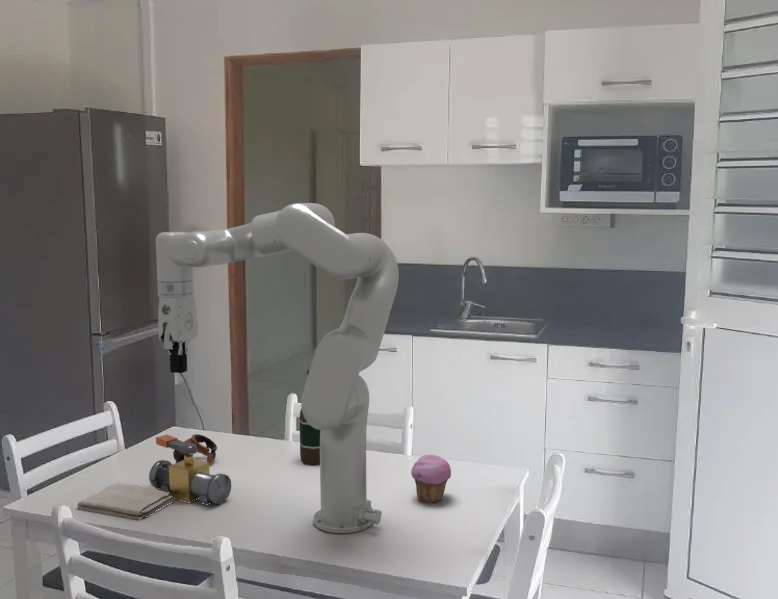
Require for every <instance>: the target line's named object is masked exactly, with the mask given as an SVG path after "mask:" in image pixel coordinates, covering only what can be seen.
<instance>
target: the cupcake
mask: <svg viewBox="0 0 778 599" xmlns="http://www.w3.org/2000/svg"><path fill="white" fill-rule="evenodd" d="M410 474H411V477H412V479H414V483H415V489H416V496H417V499H418V500H419V501H422V502H427V503H436V502H438V501H439V500H441V499H443V498H444V495H445V490H446V485H447V482H448V480H449V479H450V478H451V476H452V470H451V466H450V463H449V462H448V461H447V460H446V459H444V458H442V457H441V456H439V455H434V454H424V455H422V456H420V457H419V458H418V459H417V460H416V461H415V462H414V464H413V465H412V468H411V471H410Z"/></svg>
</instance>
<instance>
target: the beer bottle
mask: <svg viewBox="0 0 778 599" xmlns="http://www.w3.org/2000/svg"><path fill="white" fill-rule="evenodd" d="M309 371H310V368H309V369H307V371H306V374H307V375H308V374H309ZM320 431H321V430H318V429H315V428H313V427H312V426H311V425H309V424H308V422H307V421H306V420H305V418H304V416H303V413H302V408H300V412H299V447H300V448H299V454H300V455H299V458H300V460H301V462H302V463H303V464H304V465H307V464H308V466H313V465H314V466H320Z"/></svg>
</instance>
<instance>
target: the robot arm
mask: <svg viewBox="0 0 778 599" xmlns="http://www.w3.org/2000/svg"><path fill="white" fill-rule="evenodd" d="M335 223H336V222H335V217H334V216H333V213H332V212H331V211H330V210H329V209H328V208H327V207H326V206H324V205H322V204H321V203H320V204H319V203H314V202H296V203H292V204H291V203H290V204H288V205H286V206H284V207H283V208H282V209H281V210H276V211H273V212H268V213H263V214H258V215H256V216H254V217H253V218H252V220H251V222H249V223H247V224H243V225H242V224H241V225H238V226H234V227H230V228H225V229H220V230H219V229H218V230H204V231H192V232H191V231H190V232H186V231H162V232H160V233H158V234H157V235H156V237H155V251H156V252H155V253H156V254H155V255H156V277H157V279H156V280H157V297H158V298H159V299H158V300H159V301H158V313H157V314H158V316H157V318H158V322H157V324H158V326H157V327H158V338H159V341H160V342H161V343H163V349H164V350H168V355H169V366H170V368H169V369H170V373H172V374H175V373H176V374H183V373H185V372H188V357H187V356H188V355H187V353H188V348H189V347H188V346H189V343H190V342H191V340H193V339H195V338H196V337H197V336H198V334H199V328H198V327H199V325H198V314H197V306H196V299H195V291H194V288H195V287H194V286H195V285H194V268H207V267H212V266H213V267H214V266H220V265H221V266H222V265H226V264H232V263H236V262H240V261H245V260H251V259H254V258H258V257H263V258H265V257H270V256H273V255H278V254H282V253H286V252H292V251H293V252H294V253H296V254H297V255H298V256H300V257H301V258H303V259H304V260H305V261H307V262H309V263H310V264H312V265H314V266H315V267H316V268H318V269H319V270H320V271H323V272H324V273H326V274H327V275H329V276H330V277H333V278H334V279H335V278H336V279H339V280H351V279H355V278H357V280H356V284H355V287H354V289H353V290H352V293H351V296H350V297H349V300H348V302H347V307H346V311H345V314H344V317H343V320H342V322H341V324H340V326H339V327H338V328H336V329H333V330H331V331H329V332H328V333H326V334H325V335H324V336H323V337H322V339H321V340H320V341H319V343H318V345H317V346H316V349H315V351H314V355H313V358H312V361H311V364H310V367H309V369H310V371H309V374H307V378H306V381H305V385H304V388H303V391H302V396H301V404H300V405H301V408H302V413H303V416H304V418H305V420H306V421H307V422H308V424H309V425H311V426H312V427H313V428H315V429H318V430H321V431H320V465H319V475H320V476H319V477H320V478H319V479H320V481H319V482H320V483H319V484H320V489H319V492H320V509H319V510H317V511H316V512H315V513H314V515H313V516H312V517H313V525H314V526H315V527H316V528H317V529H319V530H320V531H323V532H327V533H332V534H351V533H357V532H360V531H364V530H366V529H368V528H370V527H371V526H372V525H373V524H374V525H379V524H380V523H381V519H382V512H383V511H382V510H380V509H374V508H373V507H372V500H370V499H367V498H368V497H367V428H368V424H367V423H368V416H369V415H368V414H369V407H370V406H369V405H370V392H369V391H370V390H369V387H368V384H367V382H366V381H365V379H364V378H363V377H362V376H361V375H359V374H360V372H362V371H364V370H366V369H367V368H370V367H371V366H372V364H374V362H375V361H376V360H377V358H378V355H379V351H380V349H381V348H380V347H381V344H382V341H383V337H384V334H385V332H386V328H387V324H388V321H389V317H390V313H391V310H392V308H393V304H394V301H395V297H396V293H397V290H398V286H399V285H398V284H399V280H400V279H399V278H400V277H399V266H398V265H399V264H398V261H397V259H396V256H395V254H394V252H393V251H392V249H391V248H390V246H389V245H388V244H387V243H386V242H385V241H384V240H383V239H381V238H380V237H378V236H376V235H374V234H371V233H368V232H367V233H366V232H358V233H357V232H354V233H347V234H346V233H345V232H344V231H342V230H340V229H339V228H337V227H336V224H335ZM301 408H300V409H301Z"/></svg>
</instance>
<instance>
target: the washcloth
mask: <svg viewBox="0 0 778 599" xmlns="http://www.w3.org/2000/svg"><path fill="white" fill-rule="evenodd" d="M169 493H170V492H164V491H161V489H160V490H159V489H158V488H155V487H153V486H141V485H138V484H129V483H123V482H115V483H113V484H110V485H109V486H106V487H105V488H103V489H102V490H101V491H99V492H97V493H94V494H91V495H90V496H88V497H86V498H83V499H82V500H79V501H78V503H77V509H78V510H79V511H80V510H81V511H88V512H91V511H92V513H97V512H98V514H103V513H104V515H108V514H110V515H111V516H115V515H116V516H117V517H121V516H124V517H123V518H126V517H129V518H128V519H131V518H133V519H132V520H136V519H138V520H137V521H141V520H143V519H144V518H143V517H146V516H149V515H150V514H152V513H154V512H155V511H156V510H158V509H160V508H162V507H163V506H165V505H167V504H169V503H171V502H172V503H174V502H173V501H175V499H173V496H170V495H169ZM172 503H171V504H172ZM154 514H155V513H154ZM152 515H153V514H152ZM149 517H150V516H149ZM146 518H147V517H146ZM140 519H141V520H140Z"/></svg>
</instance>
